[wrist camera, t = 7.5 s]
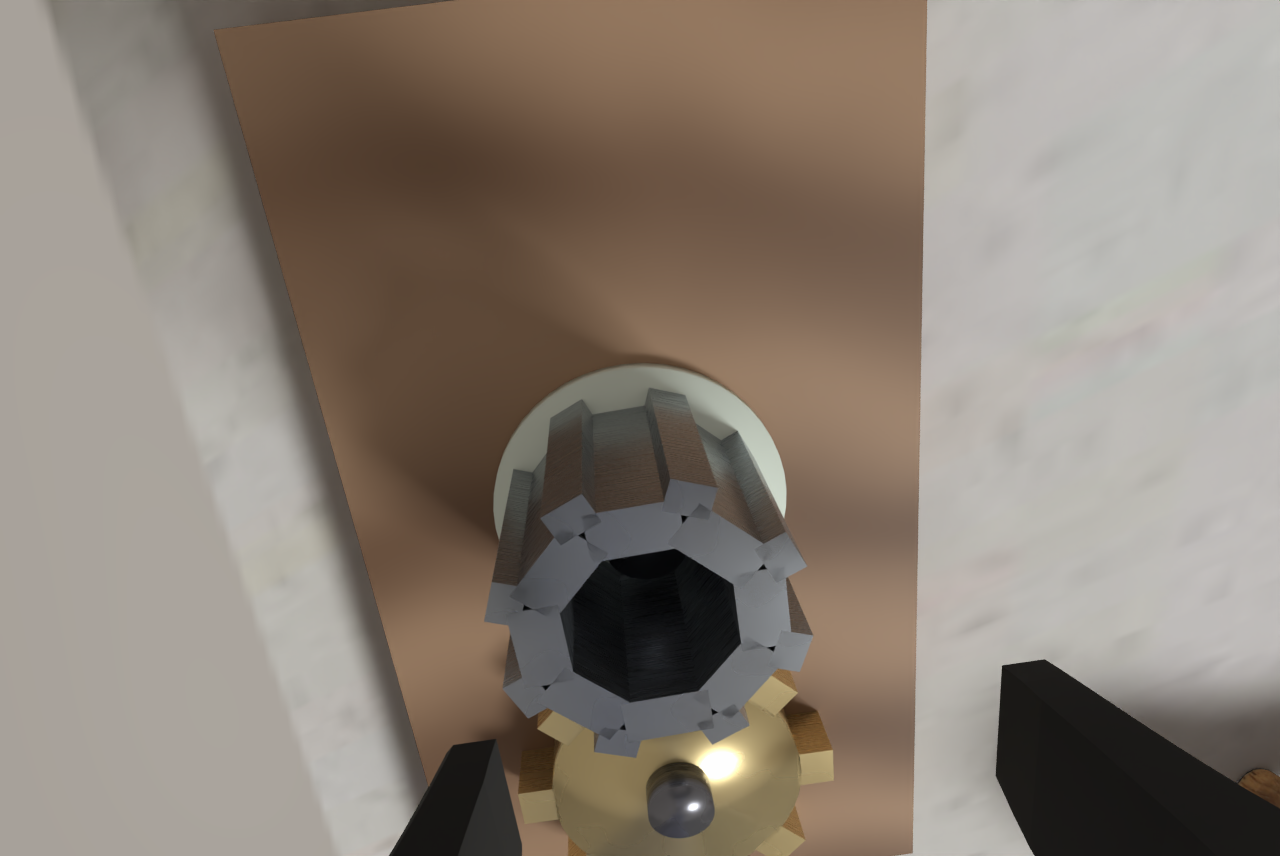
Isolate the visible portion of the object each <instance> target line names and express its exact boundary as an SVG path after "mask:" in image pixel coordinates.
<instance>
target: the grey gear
mask: <svg viewBox="0 0 1280 856" xmlns="http://www.w3.org/2000/svg"><path fill="white" fill-rule="evenodd" d="M670 549H677V550H679V551H680V552H682V553H683V554H685V555H686V556H685V558H684V559H683V561H682V562H681V563H680V564H679V565H678V566H677V567H676V568H675V569H674V570H673V571H671V572H669V573H668V574H666V575H663V576H661V577H658V578H653V579H636V578H632V577H628V576H626V575H624V574H622V573H620V572H619V571H617V570H616V569H615V568H614V567H613V566H612V565H611V564H610V563H608V562H606V560H611V559H617V558H623V557H629V556H635V555H641V554H646V553H652V552H658V551H664V550H670ZM805 567H807V565H806V563H805V561H804V559H803V557H802V555H801V552H800V550H799V548H798V546H797V544H796V542H795V540H794V538H793V536H792V534H791V532H790V530H789V528H788V526H787V524H786V522H785V520H784V518H783V515H782V513H781V511H780V509H779V507H778V505H777V503H776V501H775V499H774V497H773V495H772V493H771V491H770V489H769V487H768V485H767V483H766V481H765V478H764V476H763V474H762V472H761V470H760V468H759V466H758V464H757V462H756V460H755V458H754V456H753V455H752V453H751V452H750V450H749V448H748V447H747V445H746V443H745V442H744V440H743V439H742V437H741V435H740V434H739V432H738V431H736V432H734V433H733V434H731V435H729V436H727V437H726V438H724V439H722V440H720V439H718V438H717V437H715V436H714V435H712V434H711V433H709V432H708V431H707V430H705V429H704V428H702V427H701V426H699V425H698V424H696V423H695V421H694V418H693V415H692V413H691V410H690V407H689V404H688V401H687V398H686V396H685V395H683V394H678V393H673V392H668V391H663V390H659V389H654V388H649V389H648V393H647V397H646V401H645V405H644V406H639V407H633V408H627V409H621V410H615V411H610V412H604V413H598V414H592V413H591V411H590V410H589V409H588V407H587V406H586V404H585V403H584V401H583V400H582V399H581V400H579V401H578V402H576V403H574V404H573V405H571V406H569V407H568V408H566V409H564V410H563V411H561V412H559V413H558V414H556V415H555V416H553V417H551V418H550V426H549V436H548V445H547V453H546V455H545V456H544V457H543V459H542V460H541V461H540V463H539V464H538V465H537V467H536V468H535V469H534V471H533V472H527V471H522V470H517V469H513V473H512V478H511V483H510V488H509V493H508V498H507V503H506V508H505V513H504V519H503V524H502V529H501V534H500V540H499V545H498V550H497V555H496V561H495V566H494V571H493V576H492V582H491V587H490V592H489V597H488V603H487V608H486V613H485V618H484V622H489V623H495V624H501V625H508V626H509V630H510V637H509V645H508V652H507V659H506V667H505V674H504V681H503V690H504V691H505V692H506V694H507V695H508V696H509V697H510V698H511V699H512V700H513V702H514V703H515V704H516V705H517V706H518V707H519V709H520V710H521V711H522V712H523V713H524V714H525V715H526V717H527V718H530V717H532V716H534V715H536V714H537V713H539V712H541V711H543V710H545V709H547V708H549V709H551V710H553V711H554V712H556V713H558V714H560V715H562V716H564V717H566V718H568V719H570V720H572V721H574V722H576V723H578V724H580V725H581V726H583V727H585V728H587V729H589V730H591V731H593V732H594V752H597V753H604V754H611V755H619V756H626V757H633V758H636V757H637V753H638V750H639V747H640V743H641V741H642V740H648V739H653V738H659V737H665V736H671V735H677V734H683V733H688V732H694V731H700V730H702V732H703V733H704V734H705V736H706V737H707V738H708V740H709V741H710V742H711V744H712V745H713V744H715V743H717V742H719V741H721V740H723V739H725V738H727V737H728V736H730V735H732V734H734V733H736V732H738V731H740V730H742V729H744V728H746V727H748V726H750V724H749V720H748V717H747V713H746V709H745V706H744V705H745V704H746V702H747V701H748V700H749V699H750V698H751V697H752V696H753V695H754V694H755V693H756V692H757V691H758V689H759V688H760V687H761V686H762V685H763V684H764V683H765V682H766V681H767V680H768V679H769V678H770V676H771V675H772V674H773V673H774V672H775V671H776V670H777V669H784V670H791V671H797V672H800V670H801V667H802V665H803V662H804V659H805V657H806V654H807V652H808V649H809V646H810V644H811V641H812V638H813V633H812V631H811V629H810V626H809V624H808V622H807V620H806V617H805V615H804V613H803V610H802V608H801V606H800V603H799V601H798V599H797V597H796V594H795V592H794V590H793V587H792V585H791V583H790V580H789V578H788V577H789V576H791V575H792V574H794V573H796V572H798V571H800V570H802V569H803V568H805Z"/></svg>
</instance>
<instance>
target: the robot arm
mask: <svg viewBox="0 0 1280 856" xmlns="http://www.w3.org/2000/svg"><path fill="white" fill-rule="evenodd" d="M996 777H997V780H998V782H999V784H1000V786H1001V788H1002V790H1003V793H1004V795H1005V797H1006V799H1007V801H1008V803H1009V806H1010V808H1011V810H1012V812H1013V814H1014V816H1015V818H1016V820H1017V822H1018V825H1019V827H1020V829H1021V831H1022V833H1023V835H1024V837H1025V839H1026V841H1027V843H1028V845H1029V847H1030V849H1031V850H1032V852H1033V854H1034V855H1035V856H1280V808H1278V807H1276V806H1275V805H1273V804H1271V803H1269V802H1268V801H1266V800H1264V799H1263V798H1261V797H1259V796H1257V795H1256V794H1254V793H1252V792H1251V791H1249V790H1247V789H1245V788H1244V787H1242V786H1240V785H1238V784H1237V783H1235V782H1234V781H1232V780H1230V779H1229V778H1227V777H1225V776H1224V775H1222V774H1220V773H1219V772H1217V771H1216V770H1214V769H1212V768H1211V767H1209V766H1207V765H1206V764H1204V763H1203V762H1201V761H1199V760H1198V759H1196V758H1195V757H1193V756H1191V755H1190V754H1188V753H1187V752H1185V751H1184V750H1182V749H1180V748H1179V747H1177V746H1176V745H1174V744H1173V743H1171V742H1169V741H1168V740H1166V739H1165V738H1163V737H1162V736H1160V735H1159V734H1157V733H1156V732H1154V731H1153V730H1151V729H1149V728H1148V727H1146V726H1145V725H1143V724H1142V723H1140V722H1139V721H1137V720H1136V719H1134V718H1133V717H1131V716H1130V715H1128V714H1127V713H1125V712H1124V711H1122V710H1121V709H1119V708H1118V707H1116V706H1115V705H1113V704H1112V703H1110V702H1109V701H1107V700H1106V699H1104V698H1103V697H1101V696H1100V695H1098V694H1097V693H1095V692H1094V691H1092V690H1091V689H1089V688H1088V687H1086V686H1085V685H1083V684H1082V683H1080V682H1079V681H1077V680H1076V679H1074V678H1073V677H1071V676H1070V675H1068V674H1067V673H1065V672H1064V671H1062V670H1061V669H1059V668H1057V667H1056V666H1054V665H1053V664H1051V663H1050V662H1048V661H1046V660H1045V659H1044V660H1037V661H1031V662H1024V663H1017V664H1010V665H1003V666H1002V677H1001V694H1000V711H999V728H998V745H997V762H996ZM389 856H522V842H521V838H520V834H519V830H518V826H517V822H516V818H515V814H514V809H513V805H512V801H511V797H510V793H509V789H508V785H507V781H506V777H505V773H504V768H503V764H502V760H501V756H500V752H499V748H498V744H497V740H496V739H491V740H484V741H477V742H470V743H463V744H456V745H453V746H452V747H451V748H450V749H449V751H448V752H447V753H446V755H445V757H444V759H443V761H442V763H441V765H440V767H439V768H438V770H437V772H436V774H435V776H434V778H433V780H432V782H431V783H430V785H429V787H428V789H427V791H426V793H425V794H424V796H423V798H422V800H421V802H420V804H419V805H418V807H417V809H416V811H415V812H414V814H413V816H412V818H411V819H410V821H409V823H408V825H407V826H406V828H405V830H404V832H403V833H402V835H401V837H400V838H399V840H398V842H397V843H396V845H395V847H394V848H393V850H392V852H391V853H390V855H389Z"/></svg>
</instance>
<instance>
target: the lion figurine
mask: <svg viewBox="0 0 1280 856" xmlns="http://www.w3.org/2000/svg"><path fill="white" fill-rule="evenodd" d="M1238 785H1240V786H1242V787H1244V788H1245V789H1247V790H1249V791H1251V792H1252V793H1254V794H1256V795H1257V796H1259V797H1261V798H1263V799H1264V800H1266V801H1268V802H1269V803H1271V804H1273V805H1275V806H1276V807H1278V808H1280V777H1279V776H1277V775H1276V774H1274V773H1272V772H1271V771H1268V770H1264V769H1257V770H1252V771H1251V772H1249V773H1247V774H1246V775H1245V776H1243V778H1242V779H1241V781H1240V782H1239V783H1238Z"/></svg>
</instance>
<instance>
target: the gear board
mask: <svg viewBox="0 0 1280 856" xmlns="http://www.w3.org/2000/svg"><path fill="white" fill-rule="evenodd" d="M214 34H215V37H216V41H217V44H218V48H219V51H220V55H221V58H222V62H223V65H224V69H225V72H226V76H227V79H228V83H229V86H230V90H231V93H232V97H233V101H234V104H235V108H236V111H237V115H238V118H239V122H240V125H241V129H242V132H243V136H244V139H245V143H246V146H247V150H248V153H249V157H250V160H251V164H252V167H253V171H254V174H255V178H256V181H257V185H258V189H259V192H260V196H261V199H262V203H263V206H264V210H265V213H266V217H267V220H268V224H269V227H270V231H271V234H272V238H273V241H274V245H275V248H276V252H277V255H278V259H279V262H280V266H281V269H282V273H283V276H284V280H285V284H286V287H287V291H288V294H289V298H290V301H291V305H292V308H293V312H294V315H295V319H296V322H297V326H298V329H299V333H300V336H301V340H302V343H303V347H304V350H305V354H306V357H307V361H308V364H309V368H310V371H311V375H312V379H313V382H314V386H315V389H316V393H317V396H318V400H319V403H320V407H321V410H322V414H323V417H324V421H325V424H326V428H327V431H328V435H329V438H330V442H331V445H332V449H333V452H334V456H335V459H336V463H337V466H338V470H339V474H340V477H341V481H342V484H343V488H344V491H345V495H346V498H347V502H348V505H349V509H350V512H351V516H352V519H353V523H354V526H355V530H356V533H357V537H358V540H359V544H360V547H361V551H362V554H363V558H364V561H365V565H366V569H367V572H368V576H369V579H370V583H371V586H372V590H373V593H374V597H375V600H376V604H377V607H378V611H379V614H380V618H381V621H382V625H383V628H384V632H385V635H386V639H387V642H388V646H389V649H390V653H391V656H392V660H393V664H394V667H395V671H396V674H397V678H398V681H399V685H400V688H401V692H402V695H403V699H404V702H405V706H406V709H407V713H408V716H409V720H410V723H411V727H412V730H413V734H414V737H415V741H416V744H417V748H418V751H419V755H420V759H421V762H422V766H423V769H424V773H425V776H426V780H427V783H428V787H429V785H430V783H431V782H432V780H433V778H434V776H435V774H436V772H437V770H438V768H439V767H440V765H441V763H442V761H443V759H444V757H445V755H446V753H447V752H448V751H449V749H450V748H451V747H452V746H453V745H456V744H463V743H470V742H477V741H484V740H491V739H496V740H497V744H498V748H499V752H500V756H501V760H502V764H503V768H504V773H505V777H506V781H507V785H508V789H509V793H510V797H511V801H512V805H513V809H514V814H515V818H516V822H517V826H518V830H519V834H520V838H521V842H522V856H895V855H902V854H909V853H913V795H914V737H915V679H916V620H917V562H918V503H919V445H920V387H921V328H922V270H923V211H924V153H925V95H926V36H927V0H453V1H445V2H437V3H429V4H420V5H412V6H404V7H396V8H388V9H380V10H371V11H363V12H355V13H347V14H339V15H331V16H322V17H314V18H306V19H298V20H290V21H281V22H273V23H265V24H257V25H249V26H241V27H232V28H224V29H216V30H214ZM649 388H654V389H659V390H663V391H668V392H673V393H678V394H683V395H685V396H686V398H687V401H688V404H689V407H690V410H691V413H692V415H693V418H694V421H695V423H696V424H698V425H699V426H701V427H702V428H704V429H705V430H707V431H708V432H709V433H711V434H712V435H714V436H715V437H717V438H718V439H720V440H722V439H724V438H726V437H727V436H729V435H731V434H733V433H734V432H736V431H738V432H739V434H740V435H741V437H742V439H743V440H744V442H745V443H746V445H747V447H748V448H749V450H750V452H751V453H752V455H753V456H754V458H755V460H756V462H757V464H758V466H759V468H760V470H761V472H762V474H763V476H764V478H765V481H766V483H767V485H768V487H769V489H770V491H771V493H772V495H773V497H774V499H775V501H776V503H777V505H778V507H779V509H780V511H781V513H782V515H783V518H784V520H785V522H786V524H787V526H788V528H789V530H790V532H791V534H792V536H793V538H794V540H795V542H796V544H797V546H798V548H799V550H800V552H801V555H802V557H803V559H804V561H805V563H806V565H807V567H805V568H803V569H802V570H800V571H798V572H796V573H794V574H792V575H791V576H789V577H788V578H789V580H790V583H791V585H792V587H793V590H794V592H795V594H796V597H797V599H798V601H799V603H800V606H801V608H802V610H803V613H804V615H805V617H806V620H807V622H808V624H809V626H810V629H811V631H812V633H813V638H812V641H811V644H810V646H809V649H808V652H807V654H806V657H805V659H804V662H803V665H802V667H801V670H800V672H797V671H791V670H784V669H777V670H776V671H775V672H774V673H773V674H772V675H771V676H770V678H769V679H768V680H767V681H766V682H765V683H764V684H763V685H762V686H761V687H760V688H759V689H758V691H757V692H756V693H755V694H754V695H753V696H752V697H751V698H750V699H749V700H748V701H747V702H746V704H745V705H744V706H745V709H746V713H747V717H748V720H749V724H750V726H748V727H746V728H744V729H742V730H740V731H738V732H736V733H734V734H732V735H730V736H728V737H727V738H725V739H723V740H721V741H719V742H717V743H715V744H713V745H712V744H711V742H710V741H709V740H708V738H707V737H706V736H705V734H704V733H703V732H702V730H700V731H694V732H688V733H683V734H677V735H671V736H665V737H659V738H653V739H648V740H642V741H641V743H640V747H639V750H638V753H637V757H636V758H633V757H626V756H619V755H611V754H604V753H597V752H594V732H593V731H591V730H589V729H587V728H585V727H583V726H581V725H580V724H578V723H576V722H574V721H572V720H570V719H568V718H566V717H564V716H562V715H560V714H558V713H556V712H554V711H553V710H551V709H549V708H547V709H545V710H543V711H541V712H539V713H537V714H536V715H534V716H532V717H530V718H527V717H526V715H525V714H524V713H523V712H522V711H521V710H520V709H519V707H518V706H517V705H516V704H515V703H514V702H513V700H512V699H511V698H510V697H509V696H508V695H507V694H506V692H505V691H504V690H503V681H504V674H505V667H506V659H507V652H508V645H509V637H510V630H509V626H508V625H501V624H495V623H489V622H484V618H485V613H486V608H487V603H488V597H489V592H490V587H491V582H492V576H493V571H494V566H495V561H496V555H497V550H498V545H499V540H500V534H501V529H502V524H503V519H504V513H505V508H506V503H507V498H508V493H509V488H510V483H511V478H512V473H513V469H517V470H522V471H527V472H533V471H534V469H535V468H536V467H537V465H538V464H539V463H540V461H541V460H542V459H543V457H544V456H545V455H546V453H547V445H548V436H549V426H550V418H551V417H553V416H555V415H556V414H558V413H559V412H561V411H563V410H564V409H566V408H568V407H569V406H571V405H573V404H574V403H576V402H578V401H579V400H581V399H582V400H583V401H584V403H585V404H586V406H587V407H588V409H589V410H590V411H591V413H592V414H598V413H604V412H610V411H615V410H621V409H627V408H633V407H639V406H644V405H645V401H646V397H647V393H648V389H649ZM685 556H686V555H685V554H683V553H682V552H680V551H679V550H677V549H670V550H664V551H658V552H652V553H646V554H641V555H635V556H629V557H623V558H617V559H611V560H606V562H608V563H610V564H611V565H612V566H613V567H614V568H615V569H616V570H617V571H619V572H620V573H622V574H624V575H626V576H628V577H632V578H636V579H653V578H658V577H661V576H663V575H666V574H668V573H669V572H671V571H673V570H674V569H675V568H676V567H677V566H678V565H679V564H680V563H681V562H682V561H683V559H684V558H685Z"/></svg>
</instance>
